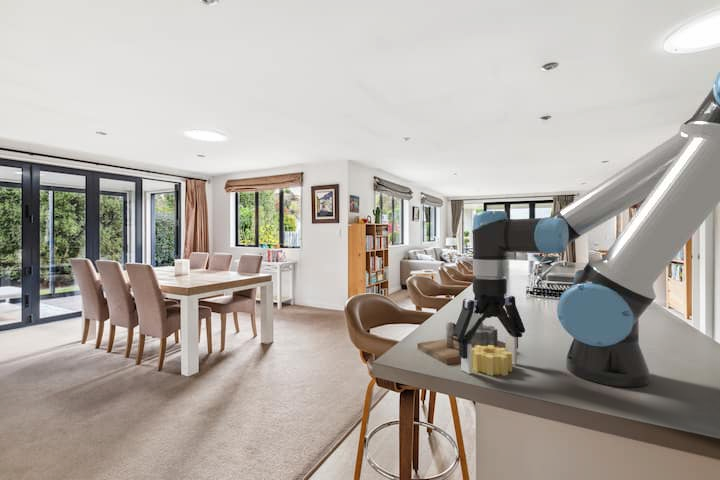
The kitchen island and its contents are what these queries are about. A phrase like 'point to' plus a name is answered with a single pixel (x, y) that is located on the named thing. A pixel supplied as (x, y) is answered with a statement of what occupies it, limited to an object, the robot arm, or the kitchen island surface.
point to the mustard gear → (491, 360)
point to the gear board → (450, 349)
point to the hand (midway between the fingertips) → (489, 367)
